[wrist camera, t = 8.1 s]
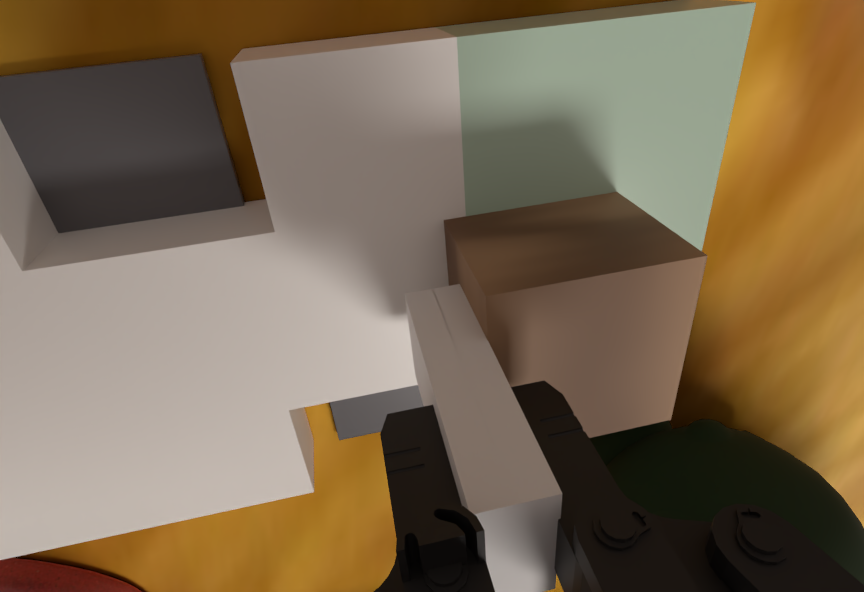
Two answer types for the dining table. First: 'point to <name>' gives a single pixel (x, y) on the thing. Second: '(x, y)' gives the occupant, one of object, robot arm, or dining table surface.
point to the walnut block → (583, 302)
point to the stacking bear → (55, 578)
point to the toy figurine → (729, 482)
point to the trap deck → (298, 237)
